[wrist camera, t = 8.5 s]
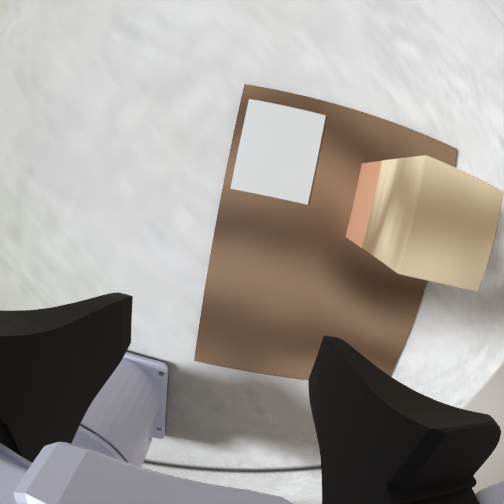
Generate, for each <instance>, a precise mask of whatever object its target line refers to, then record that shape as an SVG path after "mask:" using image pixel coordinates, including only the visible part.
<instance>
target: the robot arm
mask: <svg viewBox="0 0 504 504" xmlns="http://www.w3.org/2000/svg"><path fill="white" fill-rule="evenodd" d="M132 297H133V296H130V295H126V294H122V293H111V294H106V295H102V296H98V297H95V298H91V299H87V300H84V301H80V302H76V303H71V304H67V305H62V306H58V307H53V308H46V309H38V310H26V311H0V504H292V503H290V502H289V501H287V500H286V499H284V498H282V497H279V496H274V495H269V494H264V493H260V492H256V491H251V490H245V489H237V488H230V487H224V486H218V485H212V484H207V483H202V482H197V481H192V480H187V479H183V478H179V477H175V476H171V475H167V474H163V473H159V472H156V471H152V470H149V469H145V468H142V464H143V461H144V459H145V456H146V454H147V451H148V449H149V446H150V443H151V441H152V438H153V437H156V438H160V439H162V438H164V435H165V415H166V397H167V382H168V369H169V368H168V365H167V364H166V363H164V362H161V361H157V360H153V359H149V358H146V357H142V356H139V355H135V354H132V353H129V352H126V351H127V349H128V347H129V345H130V343H131V317H132ZM160 372H163V373H164V374H161V373H160ZM309 398H310V405H311V410H312V414H313V419H314V424H315V428H316V433H317V438H318V443H319V448H320V455H321V469H322V504H504V481H502V482H499V483H497V484H494V485H492V486H489V487H487V488H484V489H482V490H480V491H479V492H478V493H476V494H474V491H473V490H472V487H474V486H475V485H476V480H475V478H474V476H473V475H474V474H475V472H476V471H477V470H478V469H479V468H480V467H481V466H482V464H483V463H484V462H485V461H486V460H487V458H488V457H489V456H490V455H491V453H492V452H493V451H494V449H495V448H496V446H497V444H498V442H499V439H500V435H501V430H500V427H499V426H498V424H497V423H496V422H495V420H494V419H493V418H492V417H491V416H490V415H488V414H482V413H477V412H472V411H468V410H463V409H459V408H456V407H453V406H450V405H447V404H444V403H441V402H438V401H436V400H433V399H431V398H429V397H427V396H424V395H422V394H420V393H418V392H416V391H414V390H412V389H410V388H408V387H407V386H405V385H403V384H402V383H400V382H398V381H397V380H395V379H393V378H392V377H390V376H389V375H388V374H386V373H385V372H383V371H382V370H381V369H379V368H378V367H377V366H375V365H374V364H373V363H371V362H370V361H369V360H368V359H366V358H365V357H364V356H363V355H361V354H360V353H359V352H358V351H357V350H355V349H354V348H353V347H352V346H350V345H349V344H348V343H347V342H345V341H344V340H342V339H341V338H338V337H331V336H324V337H323V340H322V342H321V345H320V348H319V351H318V354H317V357H316V360H315V363H314V365H313V368H312V371H311V374H310V376H309ZM158 427H159V428H158Z"/></svg>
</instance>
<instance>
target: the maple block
mask: <svg viewBox="0 0 504 504" xmlns="http://www.w3.org/2000/svg"><path fill="white" fill-rule="evenodd" d="M503 194H504V191H502V190H500V189H498V188H496V187H494V186H492V185H490V184H488V183H486V182H484V181H482V180H480V179H478V178H476V177H474V176H472V175H470V174H468V173H466V172H464V171H462V170H459V169H457V168H455V167H453V166H451V165H448V164H446V163H444V162H441V161H439V160H437V159H434V158H432V157H430V156H427V155H424V156H415V157H406V158H398V159H390V160H382V163H381V168H380V173H379V178H378V183H377V187H376V192H375V196H374V201H373V205H372V209H371V214H370V218H369V222H368V226H367V230H366V234H365V237H364V241H363V245H362V248H363V249H364V250H366V251H367V252H369V253H370V254H372V255H373V256H374V257H376V258H377V259H378V260H380V261H381V262H383V263H384V264H385V265H387V266H388V267H389V268H391V269H392V270H394V271H395V272H396V273H398V274H401V275H405V276H410V277H414V278H419V279H423V280H428V281H432V282H437V283H441V284H446V285H450V286H454V287H459V288H463V289H467V290H472V291H476V292H478V291H479V288H480V285H481V282H482V279H483V276H484V273H485V270H486V266H487V263H488V260H489V256H490V252H491V249H492V245H493V241H494V237H495V233H496V229H497V224H498V220H499V215H500V210H501V205H502V199H503Z"/></svg>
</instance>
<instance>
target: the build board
mask: <svg viewBox="0 0 504 504" xmlns="http://www.w3.org/2000/svg"><path fill="white" fill-rule="evenodd" d="M456 154H457V149H456V148H454V147H452V146H450V145H447V144H445V143H443V142H441V141H438V140H436V139H434V138H431V137H429V136H427V135H424V134H422V133H419V132H417V131H414V130H412V129H409V128H407V127H404V126H401V125H399V124H396V123H393V122H390V121H387V120H385V119H382V118H379V117H376V116H373V115H370V114H367V113H364V112H360V111H357V110H354V109H351V108H347V107H344V106H340V105H337V104H333V103H330V102H326V101H322V100H318V99H314V98H310V97H306V96H302V95H297V94H293V93H288V92H284V91H279V90H274V89H269V88H263V87H258V86H252V85H246V84H245V85H244V89H243V94H242V98H241V103H240V107H239V112H238V116H237V121H236V125H235V130H234V135H233V139H232V144H231V149H230V154H229V159H228V164H227V169H226V174H225V179H224V184H223V189H222V194H221V200H220V205H219V210H218V216H217V221H216V227H215V232H214V238H213V244H212V249H211V255H210V261H209V267H208V273H207V279H206V285H205V291H204V298H203V304H202V311H201V317H200V324H199V331H198V338H197V345H196V352H195V359H194V361H198V362H203V363H207V364H212V365H217V366H222V367H227V368H232V369H237V370H243V371H248V372H254V373H260V374H266V375H273V376H279V377H286V378H294V379H301V380H309V376H310V374H311V371H312V368H313V365H314V363H315V360H316V357H317V354H318V351H319V348H320V345H321V342H322V340H323V337H324V336H331V337H338V338H341V339H342V340H344V341H345V342H347V343H348V344H349V345H350V346H352V347H353V348H354V349H355V350H357V351H358V352H359V353H360V354H361V355H363V356H364V357H365V358H366V359H368V360H369V361H370V362H371V363H373V364H374V365H375V366H377V367H378V368H379V369H381V370H382V371H383V372H385V373H386V374H388V375H389V376H390V375H391V373H392V371H393V368H394V366H395V364H396V362H397V360H398V357H399V355H400V353H401V351H402V348H403V346H404V343H405V341H406V339H407V336H408V334H409V331H410V329H411V326H412V324H413V321H414V318H415V316H416V313H417V310H418V308H419V305H420V302H421V299H422V296H423V293H424V290H425V287H426V284H427V281H428V280H423V279H419V278H414V277H410V276H405V275H401V274H398V273H396V272H395V271H394V270H392V269H391V268H389V267H388V266H387V265H385V264H384V263H383V262H381V261H380V260H378V259H377V258H376V257H374V256H373V255H372V254H370V253H369V252H367V251H366V250H364V249H363V248H361V247H359V246H358V245H357V244H355V243H354V242H352V241H351V240H349V239H348V238H347V237H346V233H347V229H348V225H349V221H350V216H351V212H352V208H353V203H354V199H355V194H356V190H357V185H358V180H359V175H360V170H361V165H362V163H369V162H377V161H382V160H390V159H398V158H406V157H415V156H424V155H427V156H430V157H432V158H434V159H437V160H439V161H441V162H444V163H446V164H448V165H451V166H453V167H455V161H456Z"/></svg>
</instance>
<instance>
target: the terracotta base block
mask: <svg viewBox="0 0 504 504" xmlns="http://www.w3.org/2000/svg"><path fill="white" fill-rule="evenodd" d="M381 163H382V161H377V162H369V163H362V165H361V170H360V175H359V180H358V185H357V190H356V194H355V199H354V203H353V208H352V212H351V216H350V221H349V225H348V229H347V233H346V237H347V238H348V239H349V240H351V241H352V242H354V243H355V244H357V245H358V246H359V247H361V248H362V245H363V241H364V237H365V234H366V230H367V226H368V222H369V218H370V214H371V209H372V205H373V201H374V196H375V192H376V187H377V183H378V178H379V173H380V168H381Z"/></svg>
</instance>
